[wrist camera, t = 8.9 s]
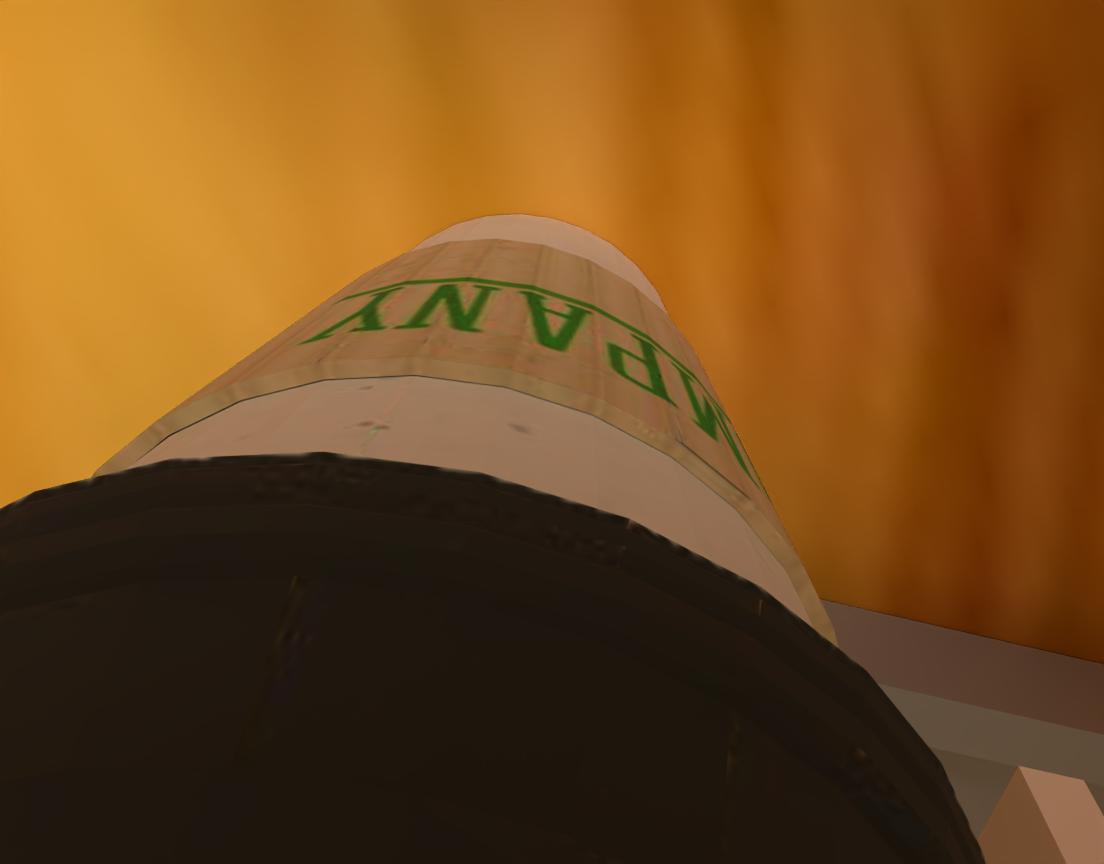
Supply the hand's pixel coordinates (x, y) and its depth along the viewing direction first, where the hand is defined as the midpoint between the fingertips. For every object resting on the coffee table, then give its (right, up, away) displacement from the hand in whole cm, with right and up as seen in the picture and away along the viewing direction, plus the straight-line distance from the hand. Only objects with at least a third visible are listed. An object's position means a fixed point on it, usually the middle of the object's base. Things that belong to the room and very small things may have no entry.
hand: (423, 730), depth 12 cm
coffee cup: (+1, +5, +9) cm, 10 cm away
